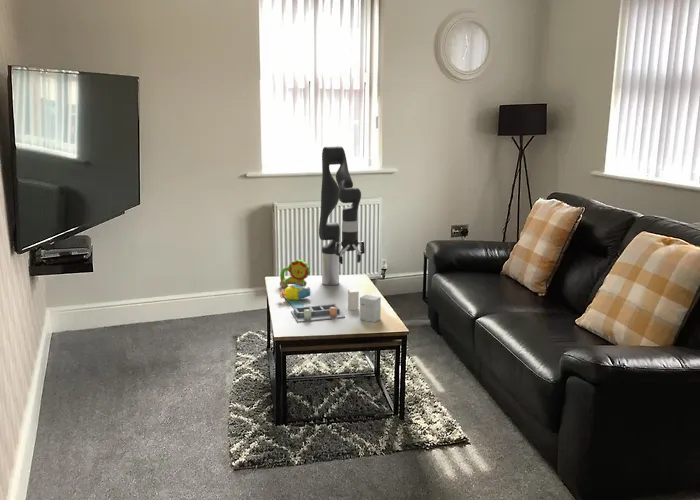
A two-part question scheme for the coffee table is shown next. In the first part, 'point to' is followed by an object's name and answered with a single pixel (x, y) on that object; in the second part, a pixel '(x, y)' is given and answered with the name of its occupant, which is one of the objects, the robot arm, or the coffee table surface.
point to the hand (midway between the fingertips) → (349, 263)
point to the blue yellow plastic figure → (295, 294)
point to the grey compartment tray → (317, 313)
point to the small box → (370, 308)
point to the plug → (353, 299)
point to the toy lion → (295, 273)
